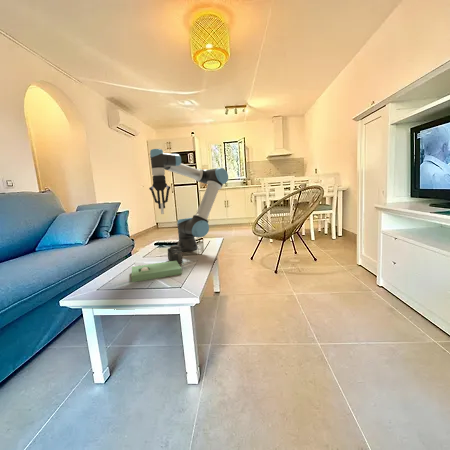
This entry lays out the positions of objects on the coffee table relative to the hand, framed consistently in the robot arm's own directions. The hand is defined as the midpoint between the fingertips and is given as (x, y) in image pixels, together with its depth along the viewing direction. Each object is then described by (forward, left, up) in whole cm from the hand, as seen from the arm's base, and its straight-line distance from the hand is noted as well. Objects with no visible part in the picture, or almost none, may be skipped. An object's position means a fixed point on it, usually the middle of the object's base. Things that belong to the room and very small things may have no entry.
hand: (162, 213), depth 152 cm
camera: (-4, +8, -30) cm, 31 cm away
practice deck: (+8, +26, -29) cm, 40 cm away
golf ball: (+14, +26, -27) cm, 40 cm away
